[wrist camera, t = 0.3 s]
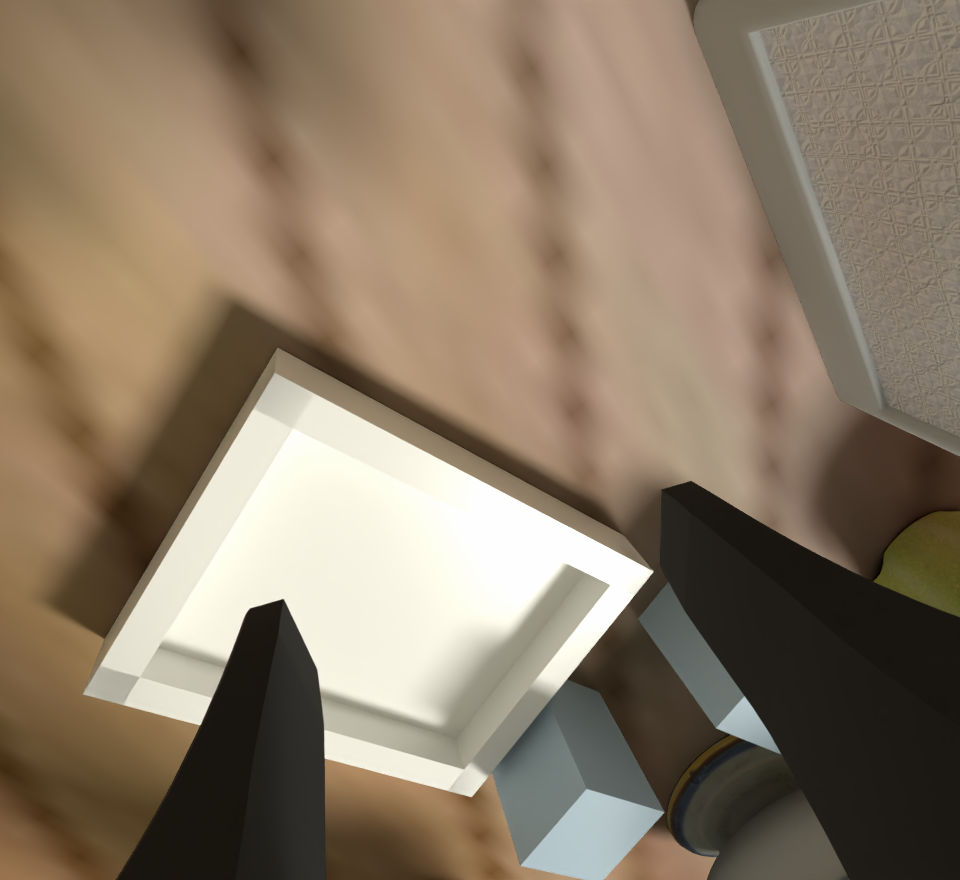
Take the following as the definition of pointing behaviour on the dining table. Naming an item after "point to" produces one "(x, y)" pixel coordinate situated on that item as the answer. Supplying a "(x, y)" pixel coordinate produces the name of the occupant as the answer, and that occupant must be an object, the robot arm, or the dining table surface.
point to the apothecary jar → (750, 817)
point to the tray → (372, 582)
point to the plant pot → (926, 562)
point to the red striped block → (858, 184)
